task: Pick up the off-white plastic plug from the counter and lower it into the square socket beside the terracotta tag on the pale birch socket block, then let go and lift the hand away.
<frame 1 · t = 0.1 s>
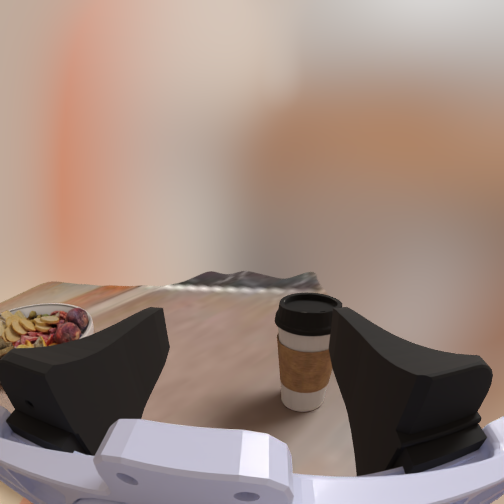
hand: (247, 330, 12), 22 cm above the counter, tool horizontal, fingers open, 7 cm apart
coffee cup: (302, 399, 36), on the counter
bowl: (32, 352, 43), on the counter
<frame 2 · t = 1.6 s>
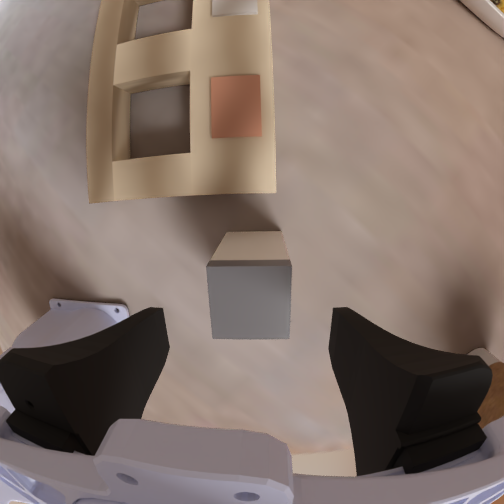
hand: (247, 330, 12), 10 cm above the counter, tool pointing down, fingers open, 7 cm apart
coffee cup: (469, 367, 25), on the counter
socket block: (183, 65, 18), on the counter
plug: (254, 257, 22), on the counter
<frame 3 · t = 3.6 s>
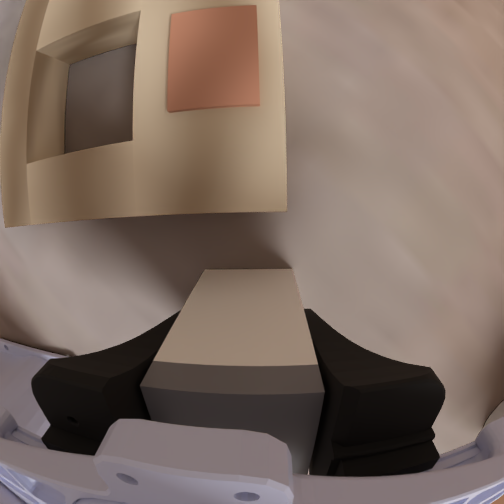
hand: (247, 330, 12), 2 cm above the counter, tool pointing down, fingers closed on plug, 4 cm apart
coffee cup: (503, 410, 17), on the counter
socket block: (141, 16, 10), on the counter
plug: (249, 308, 14), on the counter, touching gripper
when the fingers open (4 cm above the counter, at t = 7.6 s): plug drops 2 cm, resting in socket block.
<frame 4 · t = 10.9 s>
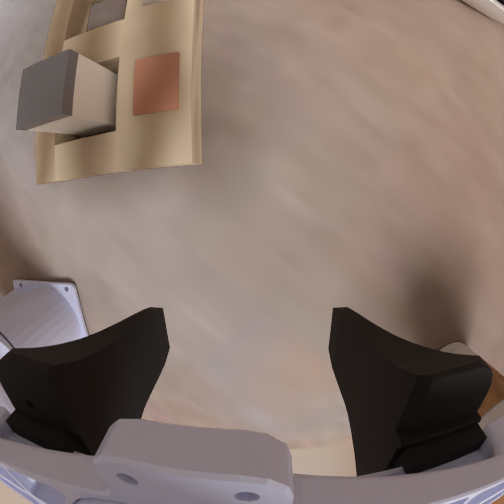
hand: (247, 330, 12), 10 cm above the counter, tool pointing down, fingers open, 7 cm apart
coffee cup: (445, 364, 24), on the counter
socket block: (123, 53, 17), on the counter
plug: (104, 108, 19), resting in socket block
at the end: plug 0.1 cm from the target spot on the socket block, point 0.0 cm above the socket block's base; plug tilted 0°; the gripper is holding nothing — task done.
